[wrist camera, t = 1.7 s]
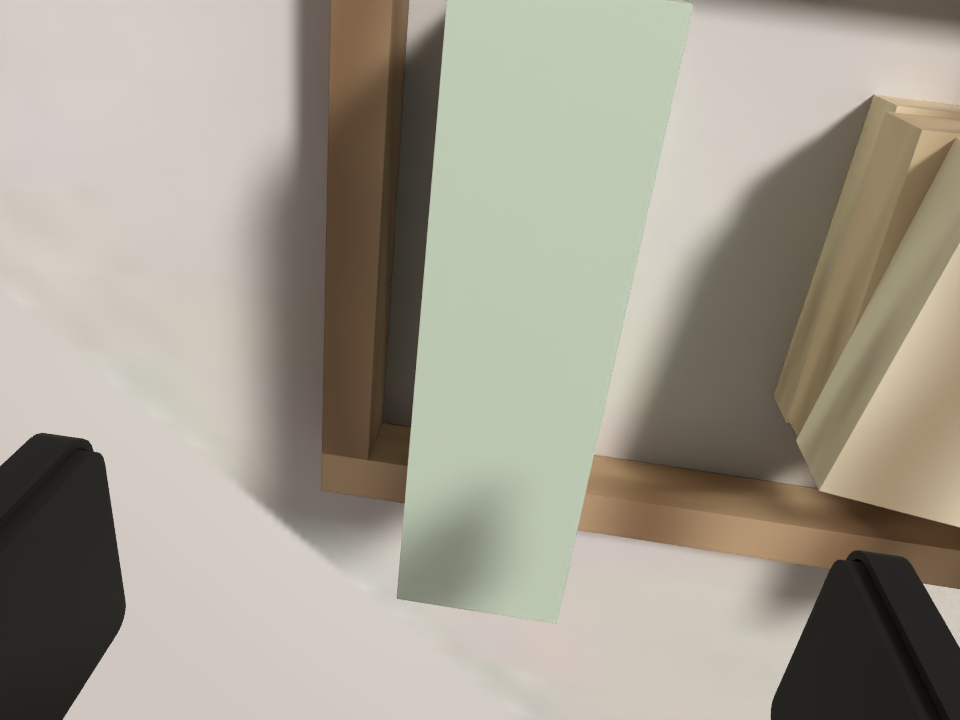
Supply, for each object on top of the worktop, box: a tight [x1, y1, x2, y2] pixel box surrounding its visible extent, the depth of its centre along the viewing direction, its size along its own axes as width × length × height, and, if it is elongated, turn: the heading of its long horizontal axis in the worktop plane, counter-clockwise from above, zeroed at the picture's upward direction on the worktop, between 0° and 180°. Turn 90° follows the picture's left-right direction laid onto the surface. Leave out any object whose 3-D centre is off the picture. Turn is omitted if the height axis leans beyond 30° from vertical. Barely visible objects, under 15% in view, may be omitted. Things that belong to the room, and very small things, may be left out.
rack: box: [321, 0, 960, 589], centre depth 21 cm, size 24×20×8 cm
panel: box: [397, 0, 694, 624], centre depth 20 cm, size 4×14×10 cm, turn 173°
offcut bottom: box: [774, 95, 960, 424], centre depth 24 cm, size 5×10×2 cm, turn 174°
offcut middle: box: [788, 112, 960, 437], centre depth 22 cm, size 5×10×2 cm, turn 175°
